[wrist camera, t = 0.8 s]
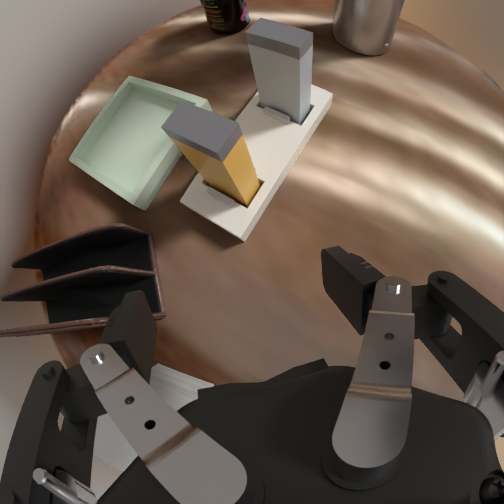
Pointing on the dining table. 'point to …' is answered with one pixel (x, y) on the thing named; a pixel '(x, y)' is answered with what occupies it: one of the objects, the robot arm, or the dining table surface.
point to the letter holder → (89, 278)
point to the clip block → (259, 162)
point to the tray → (133, 140)
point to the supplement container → (226, 15)
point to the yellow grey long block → (214, 150)
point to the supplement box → (170, 389)
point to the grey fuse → (282, 67)
